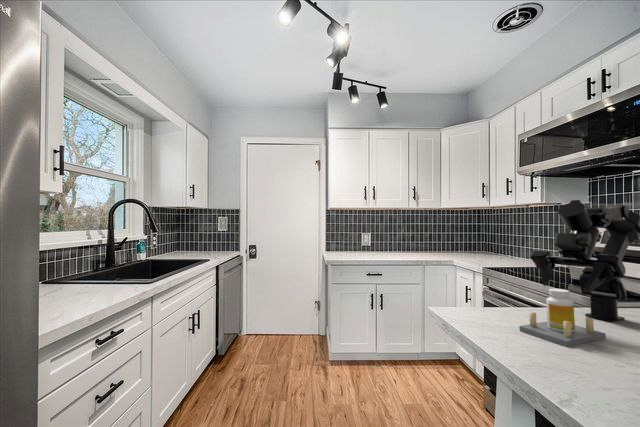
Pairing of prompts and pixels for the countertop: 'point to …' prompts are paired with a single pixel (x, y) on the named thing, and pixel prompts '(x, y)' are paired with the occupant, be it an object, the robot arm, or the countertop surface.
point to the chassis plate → (563, 337)
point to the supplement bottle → (559, 310)
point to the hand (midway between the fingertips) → (564, 287)
